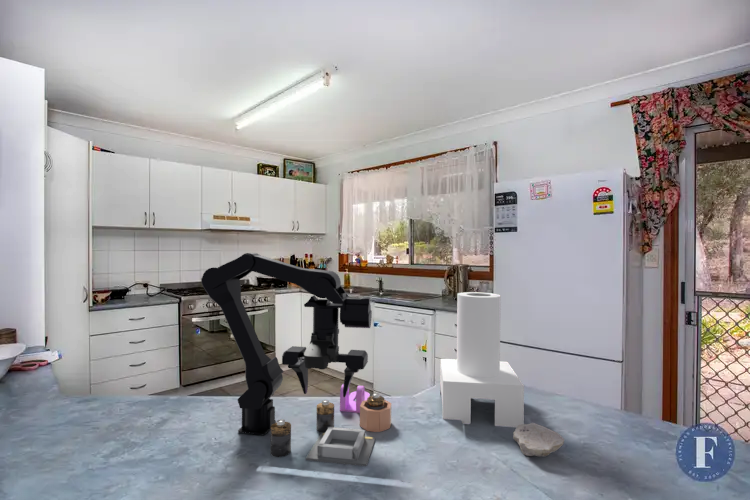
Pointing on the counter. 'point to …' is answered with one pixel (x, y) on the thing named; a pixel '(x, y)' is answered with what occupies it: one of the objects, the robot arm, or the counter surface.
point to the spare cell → (280, 438)
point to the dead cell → (375, 402)
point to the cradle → (342, 447)
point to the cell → (324, 416)
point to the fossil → (537, 439)
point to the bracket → (348, 401)
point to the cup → (375, 417)
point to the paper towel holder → (480, 365)
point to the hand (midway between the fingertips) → (324, 394)
